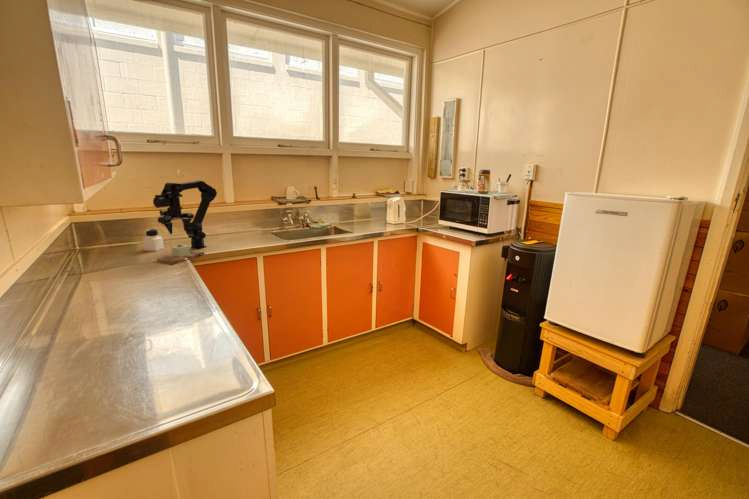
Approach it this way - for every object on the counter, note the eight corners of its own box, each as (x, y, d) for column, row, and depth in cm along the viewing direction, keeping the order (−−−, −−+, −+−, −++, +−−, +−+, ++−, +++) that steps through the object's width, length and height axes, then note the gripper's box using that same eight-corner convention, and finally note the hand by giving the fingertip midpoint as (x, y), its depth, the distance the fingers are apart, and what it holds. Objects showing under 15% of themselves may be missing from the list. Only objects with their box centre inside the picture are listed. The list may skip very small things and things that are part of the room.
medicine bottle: (164, 247, 211) (161, 228, 208) (155, 251, 204) (152, 231, 201) (153, 247, 212) (149, 228, 208) (144, 250, 205) (141, 230, 201)
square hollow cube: (182, 253, 196) (181, 244, 195) (190, 254, 194) (188, 245, 193) (172, 255, 191) (171, 247, 189) (180, 257, 189) (179, 248, 187)
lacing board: (189, 251, 204) (187, 239, 202) (204, 254, 199) (203, 241, 197) (157, 261, 186) (155, 247, 184) (173, 264, 182) (171, 250, 180)
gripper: (179, 202, 206) (182, 228, 210) (148, 206, 189) (153, 234, 194) (192, 203, 202) (196, 229, 206) (163, 208, 185) (167, 236, 189)
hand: (178, 232), depth 199 cm, fingers open, 9 cm apart
